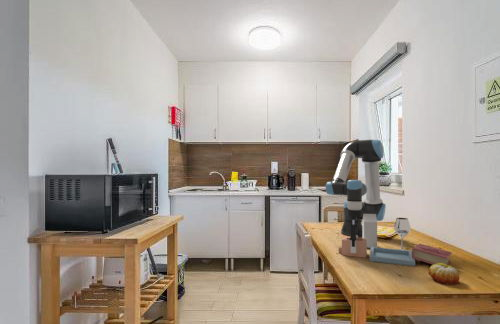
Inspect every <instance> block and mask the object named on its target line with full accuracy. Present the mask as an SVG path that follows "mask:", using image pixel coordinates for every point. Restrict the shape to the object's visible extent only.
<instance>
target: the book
mask: <svg viewBox="0 0 500 324" xmlns="http://www.w3.org/2000/svg"><path fill="white" fill-rule="evenodd" d="M411 251H412V254H411V255H412V258H413V259H415V261H416V260H417V261H420V262H424V263H427V264H430V265H433V264H436V263H443V264H446V265H448V266H450V264H451V260H450V257H451V255H452V253H453V252H452V251H450V250H449V251H448V250H445V249H441V248H437V247H434V246H430V245H426V244H423V243H418V244H416V246H413V248H412V250H411Z"/></svg>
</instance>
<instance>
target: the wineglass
mask: <svg viewBox="0 0 500 324" xmlns="http://www.w3.org/2000/svg"><path fill="white" fill-rule="evenodd" d="M393 227H394V228H393V229H394V231H395V233H396V235H398V236H399V237H400V240H401V241H400V242H401V244H400V245H401V248H400V249H399V248H398V249H399V250H404V238H405V237H406V236H407V235H409V234H410V233H411V230H412V229H411V224H410V221H409V218H406V217H396V219H395V223H394V226H393Z"/></svg>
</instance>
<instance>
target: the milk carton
mask: <svg viewBox="0 0 500 324" xmlns="http://www.w3.org/2000/svg"><path fill="white" fill-rule="evenodd" d="M361 223H362V236H361V238H365V239H367V249H371V247H378V221H377V218H376V214H363V219H361Z"/></svg>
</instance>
